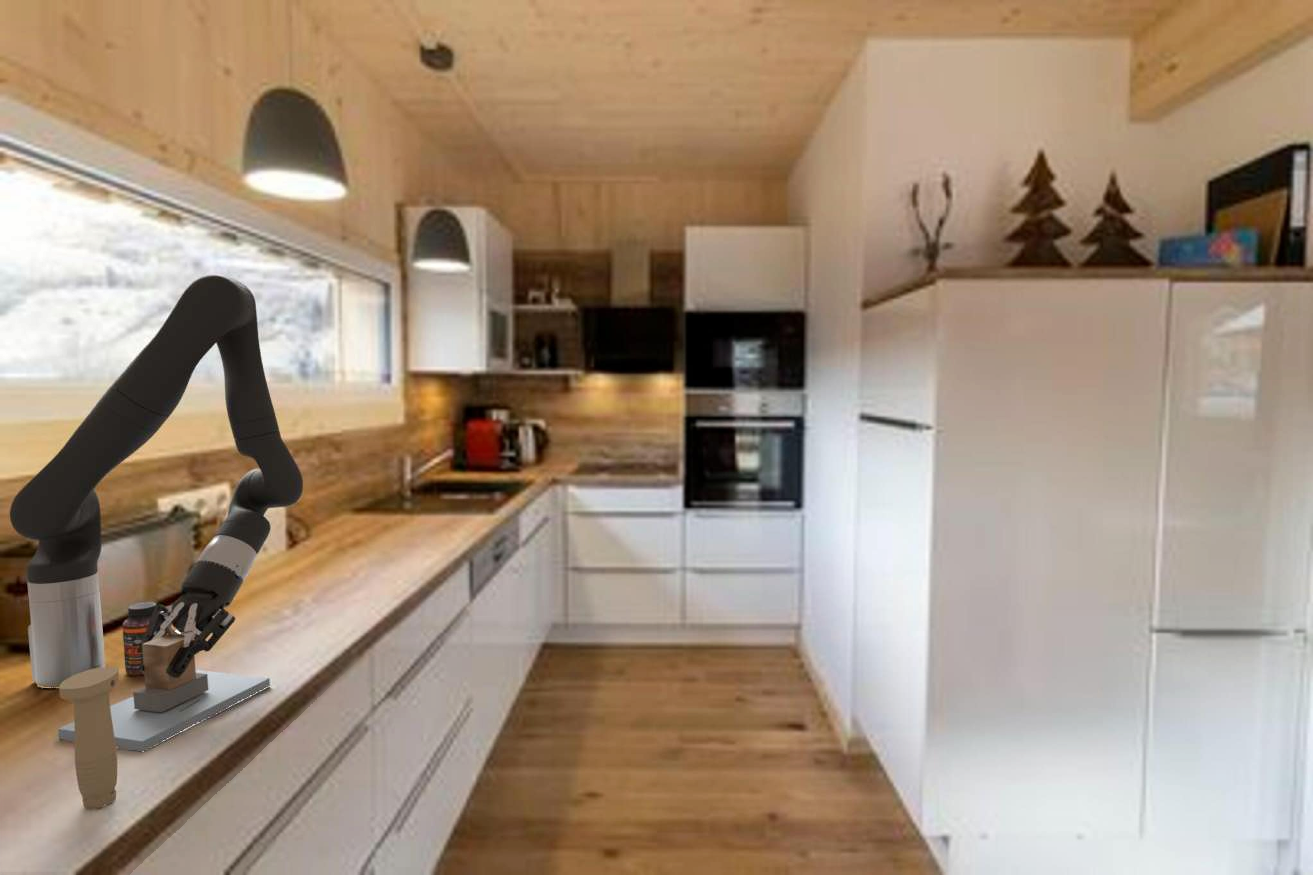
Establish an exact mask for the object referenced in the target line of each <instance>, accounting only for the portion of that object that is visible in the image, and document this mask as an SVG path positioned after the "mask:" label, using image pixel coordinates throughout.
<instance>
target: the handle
mask: <svg viewBox="0 0 1313 875" xmlns="http://www.w3.org/2000/svg"><path fill="white" fill-rule="evenodd" d="M119 677H120V673H119V667H115V666H109V667H108V666H107V667H106V666H105V667H103V668H95V669H90V670H87V671H84V672H81V673H78V674H76V675H73V676H71V677H69V678H68V679H66V680H64V681H63V682H62V683H61V684H60V687H59V688H58V690H59V691H58V692H59V698H60V699H63V700H65V701H70V702H72V704H73V712H74V713H73V715H74V721H73V722H74V724H75V742H74V765H75V775H76V780H77V786H78V789H79V793H80V795H81V797H82V804H83V807H84V810H87V811H90V810H95V809H94V808H96V810H98V809H97V808H100V809H102V808H103V807H105V806H106V805H105V804H107V805H109V804H108V803H110V802H113V801H116V797H117V790H116V786H117V784H118V783H117V782H118V753H117V752H118V751H117V748H116V743H115V736H114V730H113V724H112V717H111V710H110V706H111V704H110V693H111V692H112V691H113V690H115V688H116V687H117V685H118V683H119ZM113 803H114V802H113ZM110 804H111V803H110ZM104 805H105V806H104ZM102 806H103V807H102ZM101 807H102V808H101Z"/></svg>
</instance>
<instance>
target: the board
mask: <svg viewBox="0 0 1313 875" xmlns="http://www.w3.org/2000/svg"><path fill="white" fill-rule="evenodd" d="M196 673H202V674H207V677H208V691H205V692H203V693H201V694H199V695H197V696H195V697H193V698H191V699H189V700H187V701H184V702H182V703H180V704H178V705H176V706H174V707H172V708H170V709H168V710H166V711H164V712H154V711H146V710H139V709H135V708H134V697H133V696H131V697H129V698H126V699H124V700H122V701H119V702H116V703H114V704H112V705H110V710H111V717H112V724H113V730H114V736H115V743H116V747H118V748H117V749H119V748H122V749H121V750H125V749H129V750H128V751H132V750H137V751H136V752H138V751H145V750H147V749H149V750H151V749H150V747H153V746H154V745H156V744H158V743H160V742H162V741H163V740H166V739H167V738H169V737H171V736H173V735H175V734H177V733H179V732H180V731H183V730H184V729H186V728H188V727H190V726H192V725H193V724H196V723H197V722H201V721H202V720H204V719H207V718H208V717H211V716H213V715H215V714H216V713H219V712H220V711H222V710H224V709H226V708H228V707H229V706H231V705H233V704H235V703H237V702H238V701H241V700H242V699H245V698H247V697H249V696H250V695H253V694H255V693H256V692H259V691H260V690H263V689H264V688H266V687H268V686H270V687H271V682H270V679H271V678H270V677H264V676H263V677H262V676H254V675H246V674H237V673H228V672H219V671H210V670H209V671H208V670H199V669H196ZM219 714H220V713H219ZM215 716H216V715H215ZM213 717H214V716H213ZM211 718H212V717H211ZM207 720H208V719H207ZM201 723H202V722H201ZM57 730H58V739H59V740H60V739H63V740H62V741H66V740H68V741H69V742H74V743H75V724H74V721H73V722H71V723H69V724H66V725H64V726H62V727H59V728H58V729H57ZM68 741H67V742H68ZM166 741H167V740H166ZM162 743H163V742H162ZM153 748H154V747H153ZM147 751H148V750H147ZM145 752H146V751H145Z"/></svg>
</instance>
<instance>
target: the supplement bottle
mask: <svg viewBox="0 0 1313 875" xmlns="http://www.w3.org/2000/svg"><path fill="white" fill-rule="evenodd" d="M157 605H158V604H157V602H153V601H149V602H148V601H145V602H139V603H135V604H132V605H130V606H128V608H127V609H128V610H127V611H128V617H127V618H126V619H125V620H124V621H123V623H122V642H123V655H124V667H125V673H126V675H130V676H133V677H135V676H136V677H138V676H140V677H141V676H145V675H144V673H143V672H142V671H140V670H139V665H140V662H141V661H142V659H143V651H142V644H143V643H146V642H148V641H147V640H145V639H144V635H145V632H146V629H147V627H148V624H149V622H150V619H151V617H152V614H153V611H154V609H155V607H156V606H157ZM156 633H157V631H156V630H155V633H154V635H156Z"/></svg>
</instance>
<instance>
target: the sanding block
mask: <svg viewBox="0 0 1313 875" xmlns="http://www.w3.org/2000/svg"><path fill="white" fill-rule="evenodd" d="M184 637H185V634H184V635H177V634H167V635H166V636H163V637H160V638H157V639H154V640H151V641H149V642H146V643H143V644H142V651H143V663H144V675H143V676H144V683H145V684H144V687H142V688H140V689H137V690H135V691H133V692H132V697H134V708H135V709H139V710H146V711H154V712H164V711H166V710H168V709H170V708H172V707H174V706H176V705H178V704H180V703H182V702H184V701H187V700H189V699H191V698H193V697H195V696H197V695H199V694H201V693H203V692H205V691H208V677H207V674H202V673H196V670H197V669H196V659H195V657H196V656H195V655H194V656H193V658H192V660H191V661H190V663H189V664H188V667H187V668H186V670H185V671H184V672H183V673H182V674H181V676H180V677H179V678H175V677H172V676H170V675H169V674H167V673H166V669H167V667H168V666H169V665H170V663H171V661H172V660H173V658H174V656H175V655H176V653H177V651H178V650H179V648H183V647H182V644H183V640H184Z"/></svg>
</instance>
